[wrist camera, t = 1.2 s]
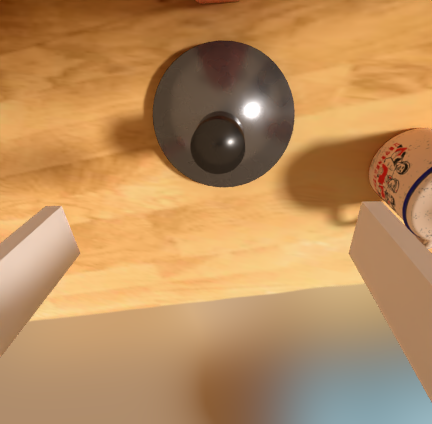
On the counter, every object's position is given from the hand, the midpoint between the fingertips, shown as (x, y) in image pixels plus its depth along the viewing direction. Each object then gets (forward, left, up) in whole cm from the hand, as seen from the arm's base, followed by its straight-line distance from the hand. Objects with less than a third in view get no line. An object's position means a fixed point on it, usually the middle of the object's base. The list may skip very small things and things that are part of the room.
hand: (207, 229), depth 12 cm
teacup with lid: (-10, +20, -21) cm, 30 cm away
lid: (0, 0, -21) cm, 21 cm away
